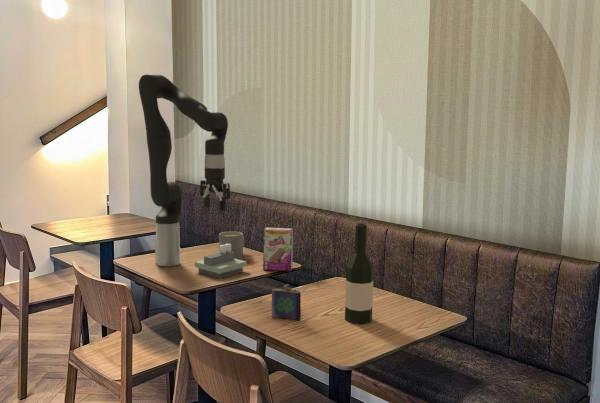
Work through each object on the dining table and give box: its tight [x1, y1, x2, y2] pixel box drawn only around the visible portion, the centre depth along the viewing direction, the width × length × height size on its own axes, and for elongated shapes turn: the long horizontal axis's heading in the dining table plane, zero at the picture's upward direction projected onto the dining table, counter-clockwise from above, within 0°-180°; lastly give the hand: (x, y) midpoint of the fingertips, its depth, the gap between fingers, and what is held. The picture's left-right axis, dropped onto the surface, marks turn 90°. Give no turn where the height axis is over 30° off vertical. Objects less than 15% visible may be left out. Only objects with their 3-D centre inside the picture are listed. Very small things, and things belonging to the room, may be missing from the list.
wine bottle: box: [344, 221, 375, 325], centre depth 183 cm, size 8×8×30 cm
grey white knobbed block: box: [203, 244, 234, 266], centre depth 234 cm, size 4×12×6 cm, turn 140°
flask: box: [271, 283, 302, 322], centre depth 185 cm, size 9×3×11 cm, turn 72°
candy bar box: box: [262, 226, 294, 272], centre depth 239 cm, size 11×5×16 cm, turn 84°
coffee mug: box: [218, 230, 245, 260], centre depth 259 cm, size 13×10×10 cm
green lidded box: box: [194, 259, 247, 279], centre depth 235 cm, size 14×14×4 cm
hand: (214, 209), depth 230 cm, fingers open, 8 cm apart
